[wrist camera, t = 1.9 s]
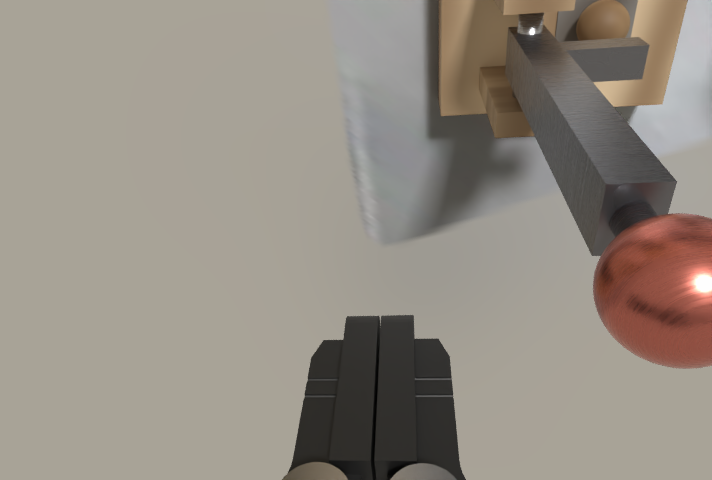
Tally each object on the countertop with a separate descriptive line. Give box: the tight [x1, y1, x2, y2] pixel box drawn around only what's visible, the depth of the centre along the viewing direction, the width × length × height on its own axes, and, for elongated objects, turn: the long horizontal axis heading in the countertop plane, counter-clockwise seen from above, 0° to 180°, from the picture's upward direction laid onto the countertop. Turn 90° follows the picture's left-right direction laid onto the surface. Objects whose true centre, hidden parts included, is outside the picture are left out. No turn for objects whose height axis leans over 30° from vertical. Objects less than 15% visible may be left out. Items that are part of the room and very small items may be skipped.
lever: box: [505, 12, 712, 368], centre depth 20 cm, size 7×4×21 cm, turn 95°
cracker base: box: [438, 0, 688, 138], centre depth 31 cm, size 14×11×10 cm
